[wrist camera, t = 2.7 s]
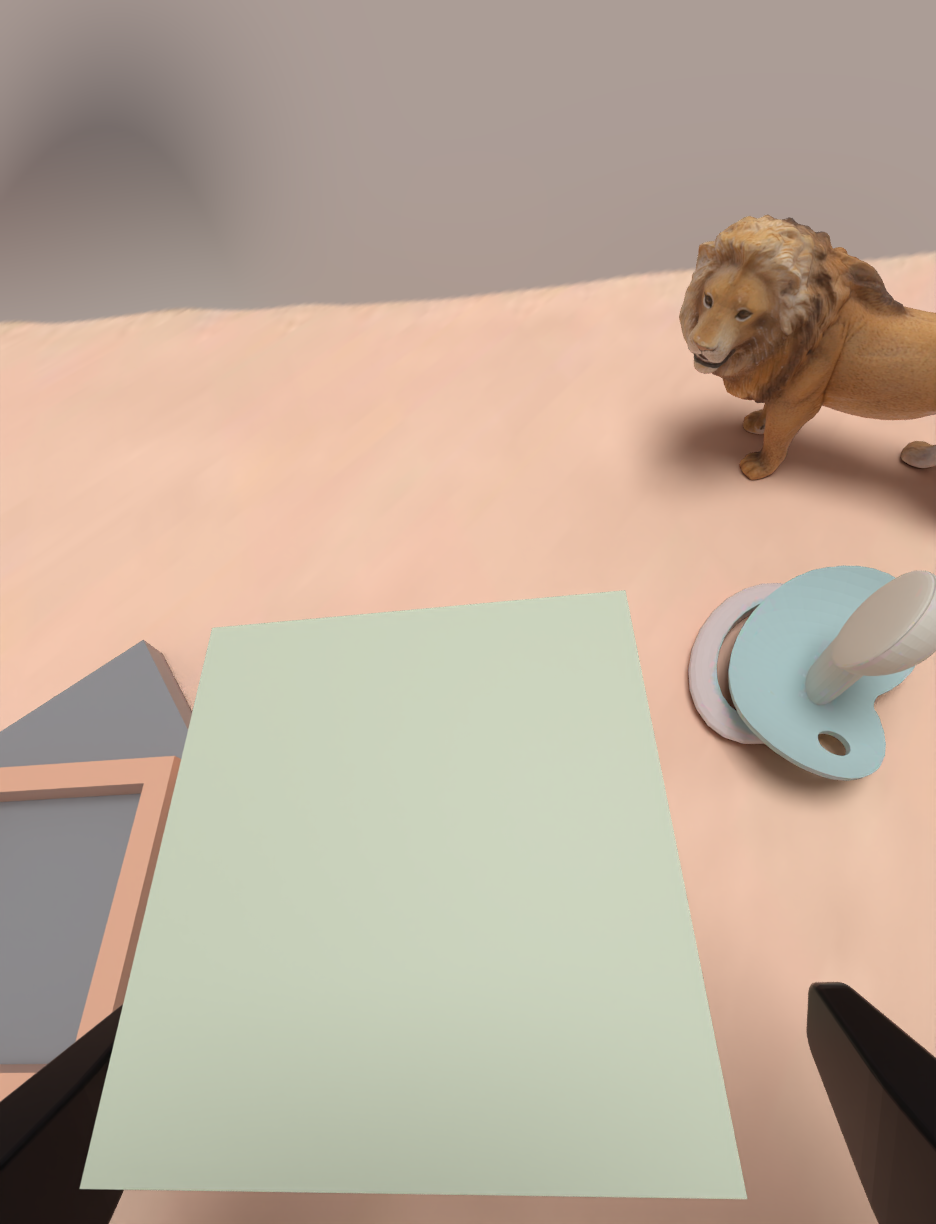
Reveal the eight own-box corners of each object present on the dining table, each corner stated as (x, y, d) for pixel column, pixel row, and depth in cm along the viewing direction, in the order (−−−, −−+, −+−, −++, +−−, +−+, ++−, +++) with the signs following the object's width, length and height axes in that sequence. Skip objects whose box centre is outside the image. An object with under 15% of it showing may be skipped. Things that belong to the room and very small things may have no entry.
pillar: (603, 1008, 15) (747, 1199, 4) (420, 1012, 15) (79, 1188, 4) (580, 813, 18) (625, 590, 6) (423, 821, 18) (211, 628, 7)
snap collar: (120, 1102, 14) (86, 1115, 13) (-176, 1103, 15) (-229, 1115, 14) (195, 765, 19) (174, 756, 18) (-38, 781, 20) (-70, 772, 19)
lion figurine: (641, 483, 24) (681, 266, 16) (667, 400, 26) (713, 175, 19) (1065, 562, 20) (1395, 317, 12) (1053, 455, 22) (1322, 191, 14)
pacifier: (651, 720, 19) (843, 822, 17) (682, 629, 14) (970, 758, 11) (736, 565, 22) (913, 634, 19) (790, 438, 16) (1044, 510, 14)
